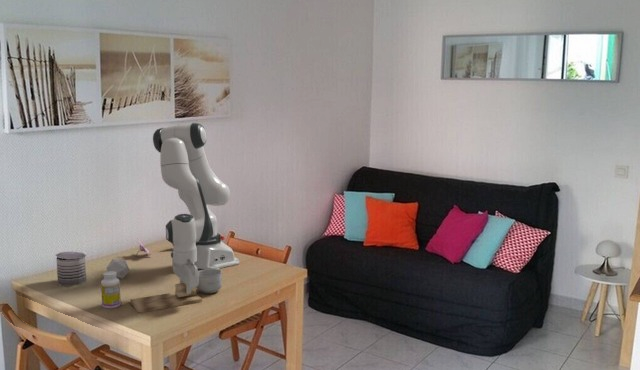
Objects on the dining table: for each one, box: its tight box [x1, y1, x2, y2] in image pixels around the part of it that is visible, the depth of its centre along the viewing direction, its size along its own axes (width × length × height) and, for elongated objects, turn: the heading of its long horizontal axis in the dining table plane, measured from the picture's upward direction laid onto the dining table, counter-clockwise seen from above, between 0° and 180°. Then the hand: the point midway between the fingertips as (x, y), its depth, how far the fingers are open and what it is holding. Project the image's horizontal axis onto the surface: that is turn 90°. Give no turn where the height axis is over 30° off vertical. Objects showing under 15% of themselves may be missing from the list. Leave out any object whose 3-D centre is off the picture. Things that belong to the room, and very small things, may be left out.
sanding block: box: [174, 282, 197, 298], centre depth 244 cm, size 7×4×4 cm, turn 120°
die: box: [106, 258, 130, 279], centre depth 269 cm, size 8×9×10 cm
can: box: [55, 250, 87, 287], centre depth 262 cm, size 11×11×12 cm
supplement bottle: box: [100, 271, 122, 309], centre depth 235 cm, size 7×7×13 cm
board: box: [129, 291, 203, 314], centre depth 241 cm, size 24×12×1 cm, turn 120°
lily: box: [135, 239, 151, 258], centre depth 300 cm, size 11×11×9 cm
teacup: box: [196, 268, 223, 294], centre depth 255 cm, size 14×11×8 cm
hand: (186, 291), depth 244 cm, fingers closed on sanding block, 4 cm apart
